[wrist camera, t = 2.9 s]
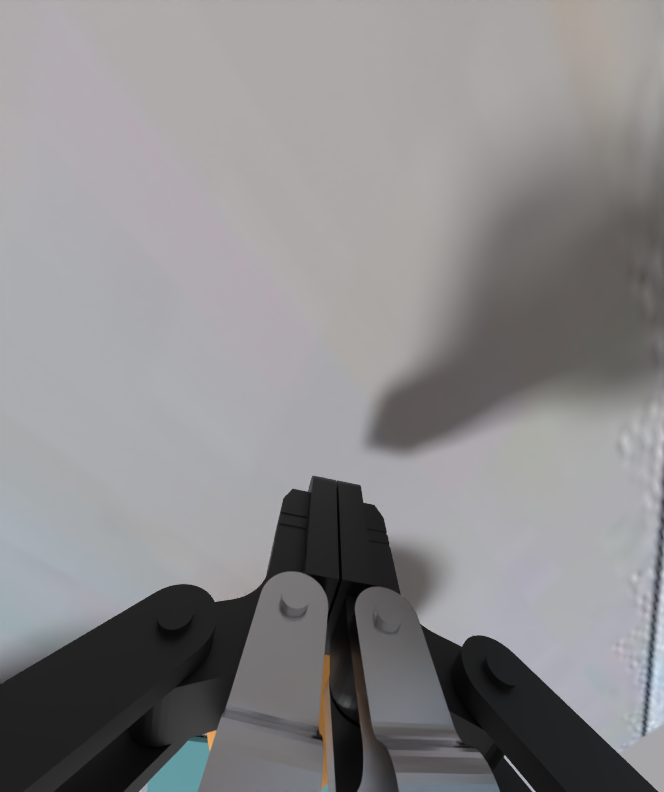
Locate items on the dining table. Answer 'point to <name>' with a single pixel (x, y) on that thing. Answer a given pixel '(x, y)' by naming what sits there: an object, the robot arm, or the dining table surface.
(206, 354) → the dining table surface
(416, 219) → the dining table surface
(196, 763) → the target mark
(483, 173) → the dining table surface
